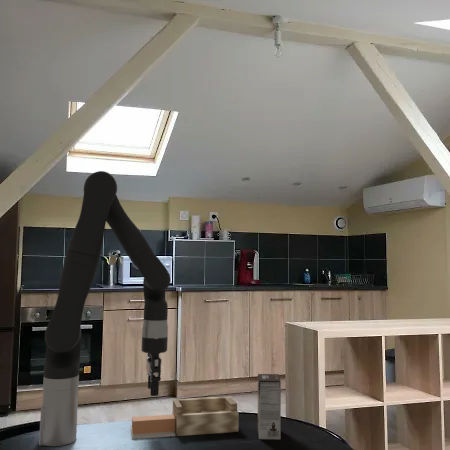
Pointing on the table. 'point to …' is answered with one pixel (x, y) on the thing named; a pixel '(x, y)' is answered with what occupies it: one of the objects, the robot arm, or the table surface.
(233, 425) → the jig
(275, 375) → the coffee box
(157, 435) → the mat
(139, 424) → the orange rectangular block
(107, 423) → the table surface
